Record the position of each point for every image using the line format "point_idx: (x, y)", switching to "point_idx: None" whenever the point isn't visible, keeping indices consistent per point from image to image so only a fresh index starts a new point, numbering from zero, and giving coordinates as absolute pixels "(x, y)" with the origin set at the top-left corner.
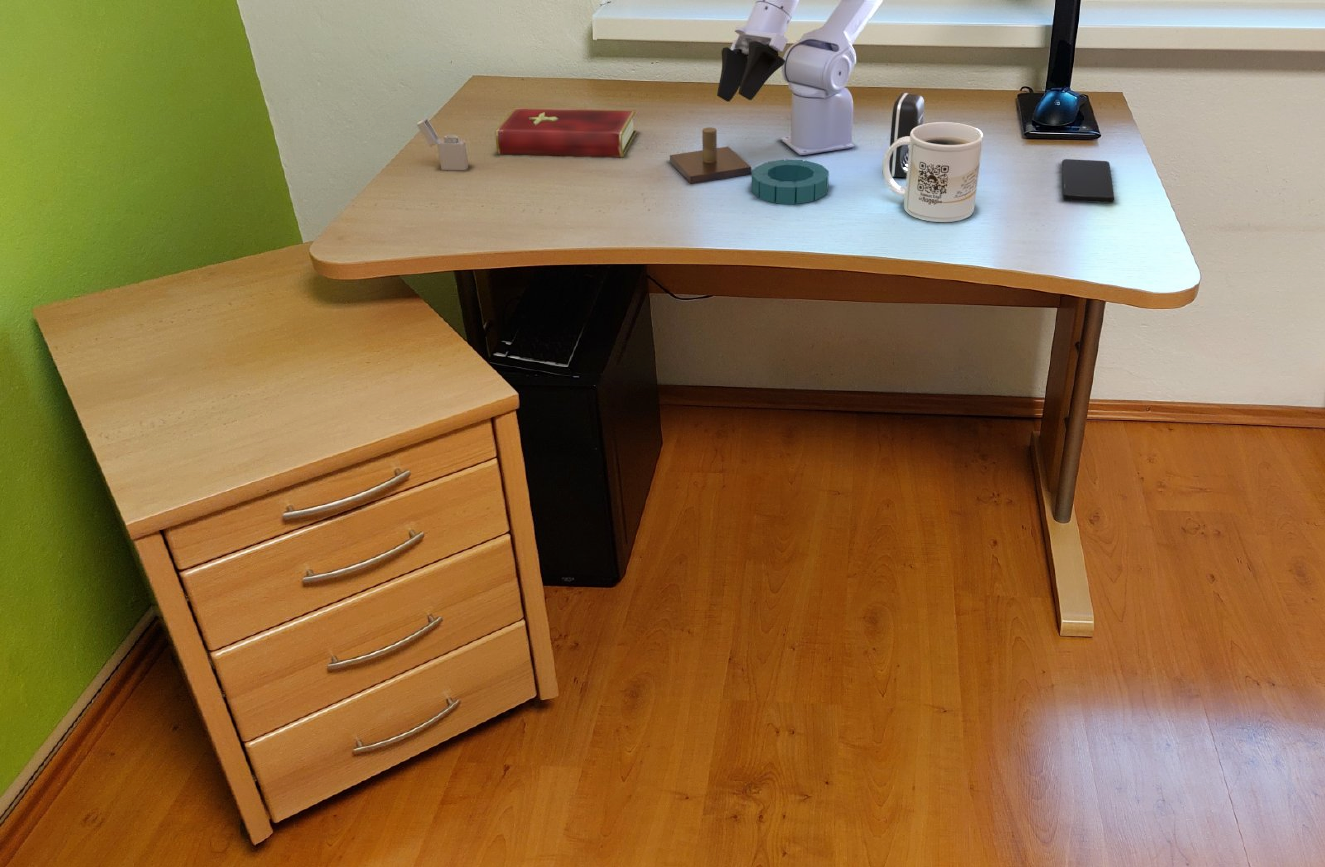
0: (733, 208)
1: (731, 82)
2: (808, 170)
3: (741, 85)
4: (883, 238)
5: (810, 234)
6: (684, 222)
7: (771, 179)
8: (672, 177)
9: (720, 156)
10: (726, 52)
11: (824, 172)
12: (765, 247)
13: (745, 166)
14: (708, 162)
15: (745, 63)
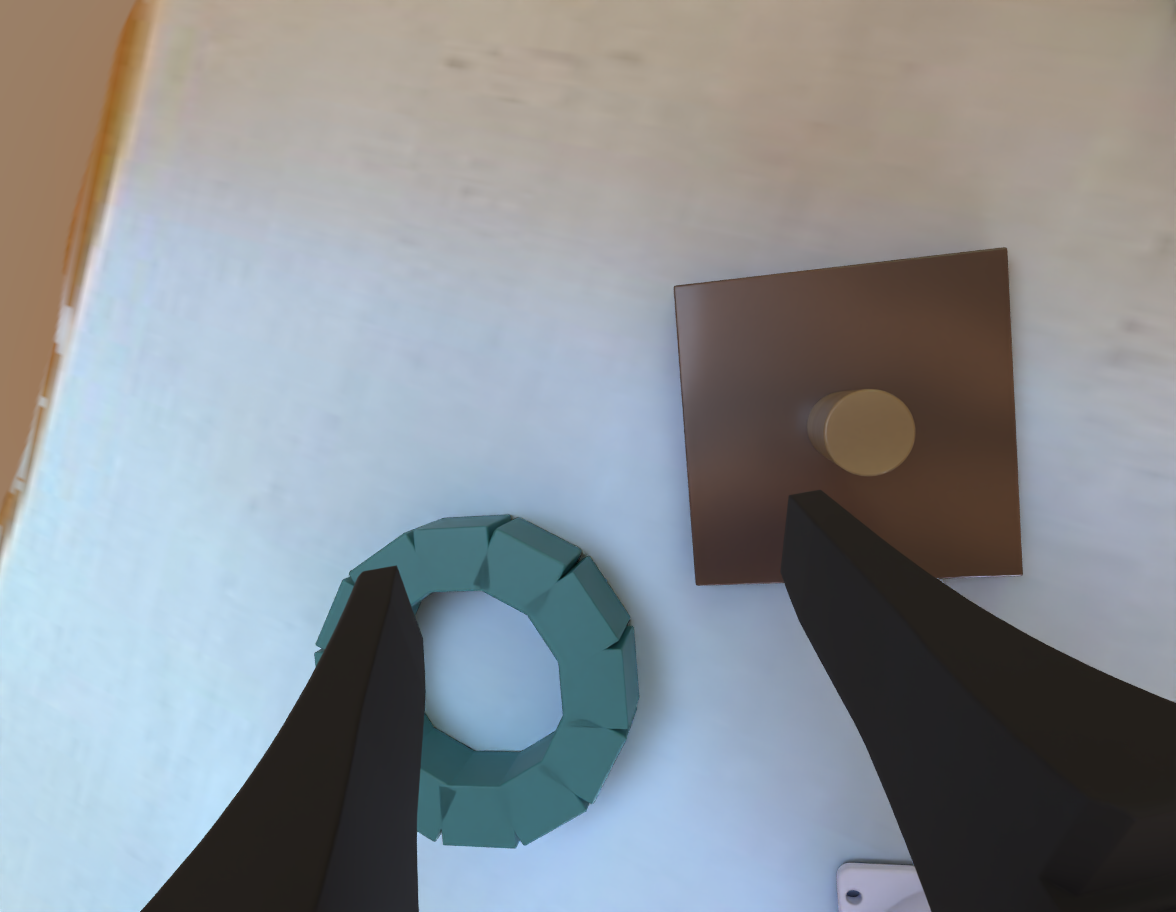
0: (381, 396)
1: (852, 649)
2: (503, 779)
3: (360, 608)
4: (49, 771)
5: (121, 576)
6: (311, 183)
7: (419, 588)
8: (785, 228)
9: (884, 493)
10: (1077, 762)
11: (425, 820)
12: (69, 405)
13: (711, 563)
14: (810, 411)
15: (972, 905)
